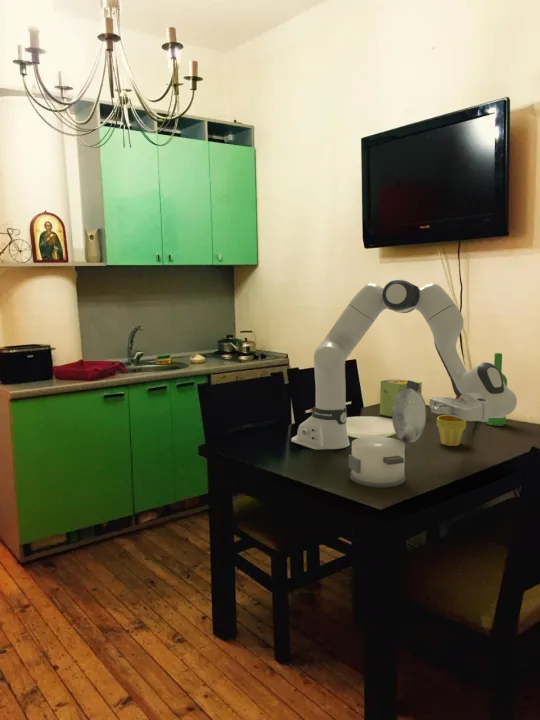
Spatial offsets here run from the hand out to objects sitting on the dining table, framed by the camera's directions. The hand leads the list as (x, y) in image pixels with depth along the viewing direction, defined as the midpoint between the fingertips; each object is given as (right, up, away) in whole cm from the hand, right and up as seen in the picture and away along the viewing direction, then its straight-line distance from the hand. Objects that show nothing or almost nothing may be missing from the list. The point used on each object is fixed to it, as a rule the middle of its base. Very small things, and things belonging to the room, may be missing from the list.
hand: (433, 410), depth 182 cm
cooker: (-18, -21, -3) cm, 28 cm away
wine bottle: (+43, -11, +60) cm, 75 cm away
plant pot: (+16, -15, +33) cm, 40 cm away
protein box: (+7, -9, +79) cm, 80 cm away
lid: (-9, 0, -3) cm, 10 cm away
